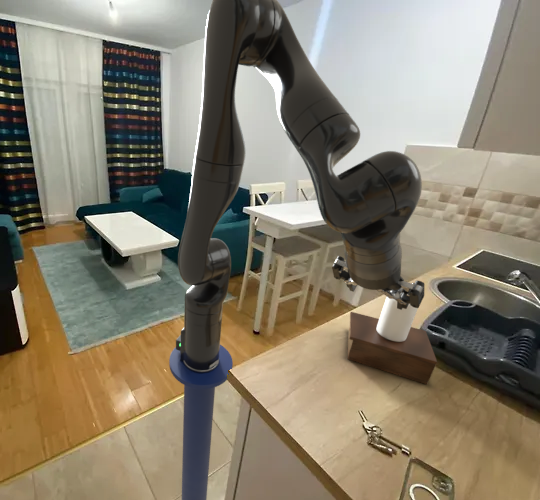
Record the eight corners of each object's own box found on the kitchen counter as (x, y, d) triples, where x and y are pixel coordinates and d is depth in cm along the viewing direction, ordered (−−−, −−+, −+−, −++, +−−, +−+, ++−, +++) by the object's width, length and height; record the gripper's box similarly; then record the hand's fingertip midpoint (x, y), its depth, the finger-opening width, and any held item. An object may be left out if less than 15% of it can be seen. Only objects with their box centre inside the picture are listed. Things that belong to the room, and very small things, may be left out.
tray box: (347, 359, 74) (352, 340, 72) (348, 331, 84) (353, 314, 82) (427, 384, 67) (435, 364, 65) (417, 351, 77) (424, 333, 75)
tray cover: (349, 339, 72) (350, 336, 72) (350, 313, 83) (350, 311, 82) (436, 364, 65) (437, 361, 64) (424, 333, 75) (425, 330, 75)
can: (370, 331, 74) (383, 290, 70) (384, 323, 77) (397, 284, 73) (397, 346, 69) (413, 303, 64) (411, 337, 72) (427, 296, 67)
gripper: (437, 252, 42) (427, 294, 53) (337, 227, 51) (347, 267, 63) (416, 296, 41) (411, 329, 52) (318, 262, 50) (332, 296, 62)
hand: (376, 295), depth 58 cm, fingers open, 8 cm apart
